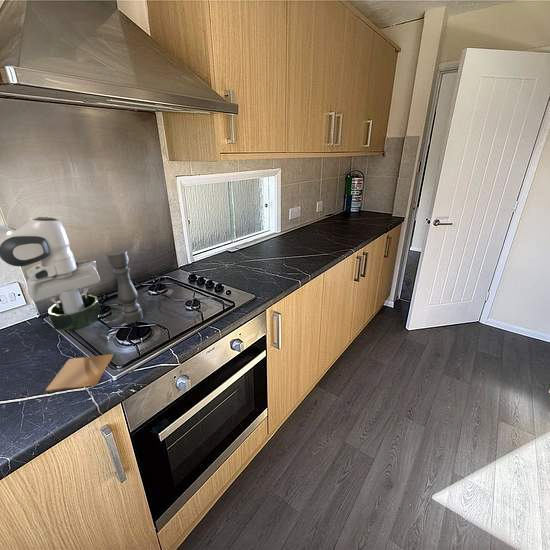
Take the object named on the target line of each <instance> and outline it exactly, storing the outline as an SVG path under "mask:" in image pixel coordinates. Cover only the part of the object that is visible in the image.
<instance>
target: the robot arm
mask: <svg viewBox="0 0 550 550" xmlns="http://www.w3.org/2000/svg"><path fill="white" fill-rule="evenodd" d="M70 247H71V246H70V240H69V236H68V234H67V231H66V229H65V226H64V224H63V223H62V221H61V220H59V219H56V218H54V217H48V216H37V217H35V216H34V217H31V218H29V220H28V221H27V222H26V223H24V224H23V225H22V226H21V227H19V228H18V229H16V228H14V227H10V226H7V225H6V224H4V223H3V222H1V221H0V260H1V261H3V262H4V263H6V264H8V265H10V266H12V267H27V266H30V265H33V264H35V263H38V264H35V265H34V266H32V267H29V268H28V269H27V270H26V271H25V274H26V276H27V277H28V278H27V279H26V286H27V292H28V295H29V298H30V300H31V301H33V302H35V303H37V302H40V301H43V300H44V301H45V300H47V299H49V300H50V301H51V302H53V304H56V306H57V308H59V307H62V306H63V305H62V303H61V302H60V300H56V299H57V298H56V297H57V296H58V295H61V293H63V292H69V291H72V290H74V289H76V288H78V289H79V290H80V289H82V293H80V294H81V297H82V300H84V299H87V295H88V291H89V287H91V286H94V285H97V284H100V281H101V277H100V275H99V272H98V270H97V263H96V260H94V259H90V258H86V259H84V260H82V259H81V260H78V261H76V258H75V255H74V253H73V252H72V251H73V250H71V248H70ZM39 262H40V263H39ZM58 297H59V296H58Z"/></svg>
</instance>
